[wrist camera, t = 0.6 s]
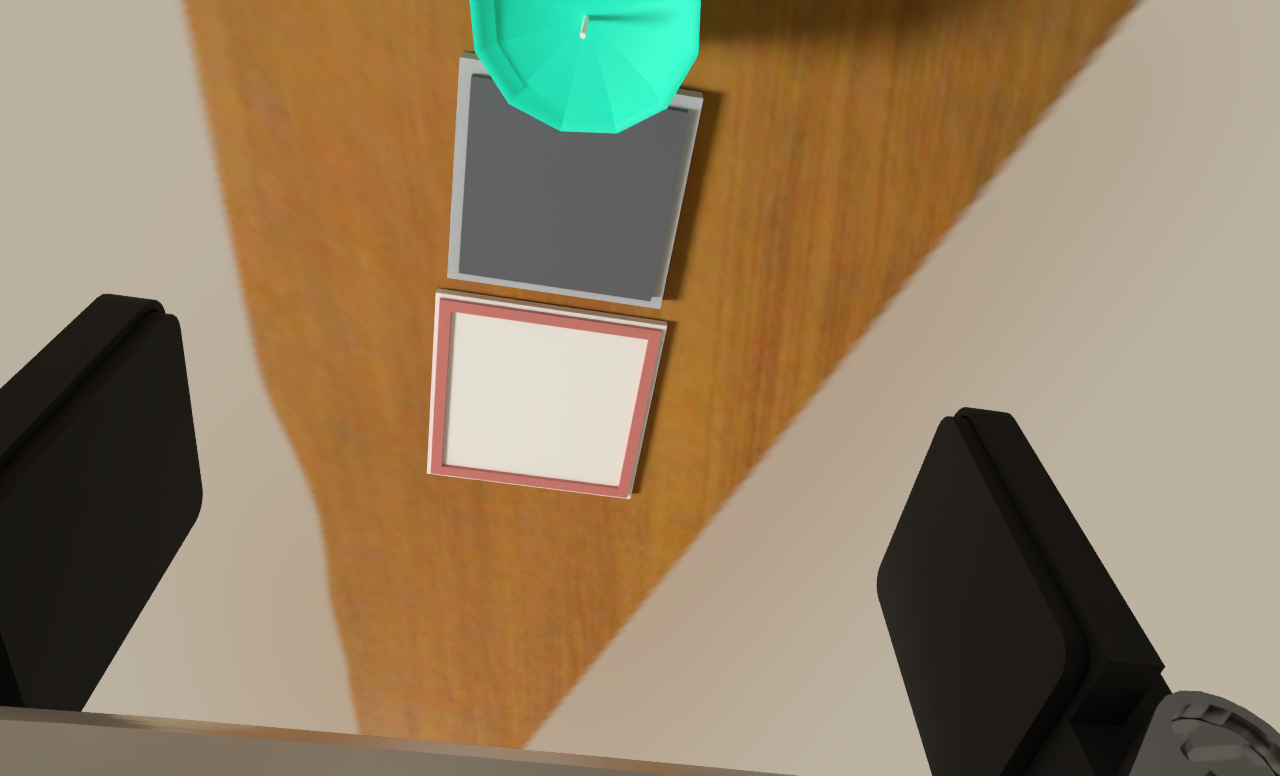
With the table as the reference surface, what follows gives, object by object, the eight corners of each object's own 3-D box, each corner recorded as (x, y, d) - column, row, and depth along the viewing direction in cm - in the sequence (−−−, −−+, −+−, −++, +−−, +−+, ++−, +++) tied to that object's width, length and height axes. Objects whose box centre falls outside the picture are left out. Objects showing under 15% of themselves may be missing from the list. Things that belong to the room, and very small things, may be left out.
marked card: (437, 288, 39) (435, 294, 38) (666, 321, 40) (667, 328, 39) (428, 468, 44) (426, 476, 44) (630, 493, 45) (630, 501, 45)
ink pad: (463, 51, 33) (457, 59, 32) (702, 92, 34) (703, 101, 33) (450, 269, 38) (445, 282, 37) (659, 300, 39) (660, 313, 38)
